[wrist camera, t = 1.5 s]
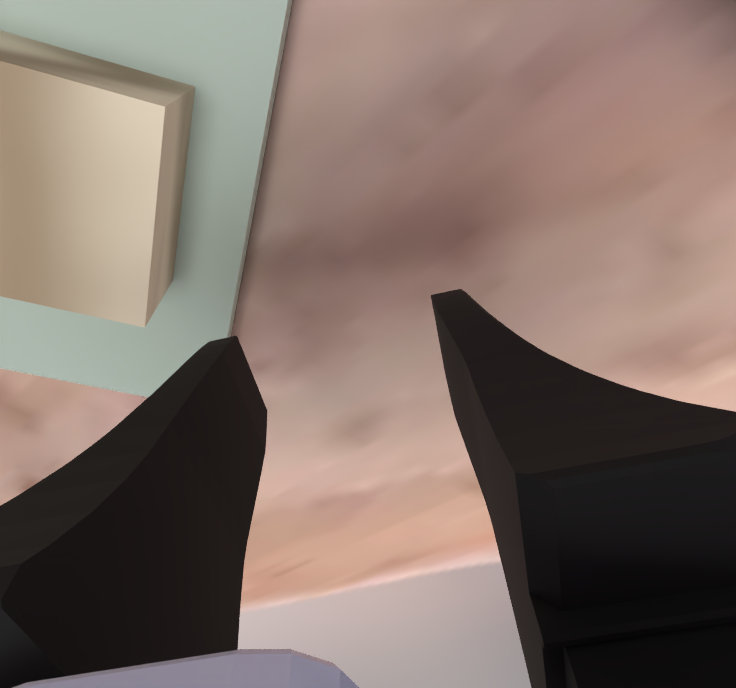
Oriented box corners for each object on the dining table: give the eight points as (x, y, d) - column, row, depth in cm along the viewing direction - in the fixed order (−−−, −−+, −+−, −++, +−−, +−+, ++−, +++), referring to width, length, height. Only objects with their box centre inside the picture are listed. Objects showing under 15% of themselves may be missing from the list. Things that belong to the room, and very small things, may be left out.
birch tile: (194, 86, 16) (165, 106, 13) (172, 280, 19) (144, 327, 16) (-45, 17, 15) (-128, 24, 12) (-27, 234, 18) (-91, 276, 15)
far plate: (312, -105, 15) (308, -114, 13) (221, 386, 23) (214, 410, 21) (-173, -277, 13) (-230, -306, 12) (-83, 324, 21) (-111, 346, 20)
